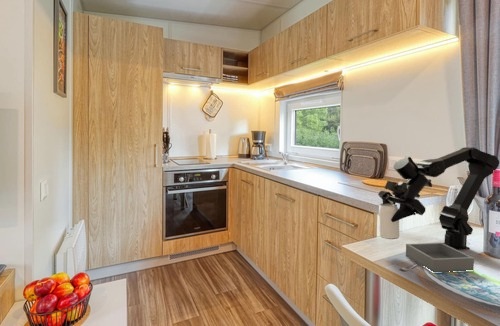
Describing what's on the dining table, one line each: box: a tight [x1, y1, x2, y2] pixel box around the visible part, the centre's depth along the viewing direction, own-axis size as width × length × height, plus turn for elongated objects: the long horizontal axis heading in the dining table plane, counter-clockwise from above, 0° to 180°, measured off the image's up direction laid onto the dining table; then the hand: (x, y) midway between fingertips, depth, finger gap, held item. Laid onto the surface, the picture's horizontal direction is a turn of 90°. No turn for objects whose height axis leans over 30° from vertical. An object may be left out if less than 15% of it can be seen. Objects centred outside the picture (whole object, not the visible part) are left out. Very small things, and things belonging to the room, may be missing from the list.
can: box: [378, 203, 400, 240], centre depth 102 cm, size 6×6×12 cm
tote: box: [405, 242, 475, 272], centre depth 94 cm, size 14×14×4 cm
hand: (385, 218), depth 102 cm, fingers closed on can, 6 cm apart
